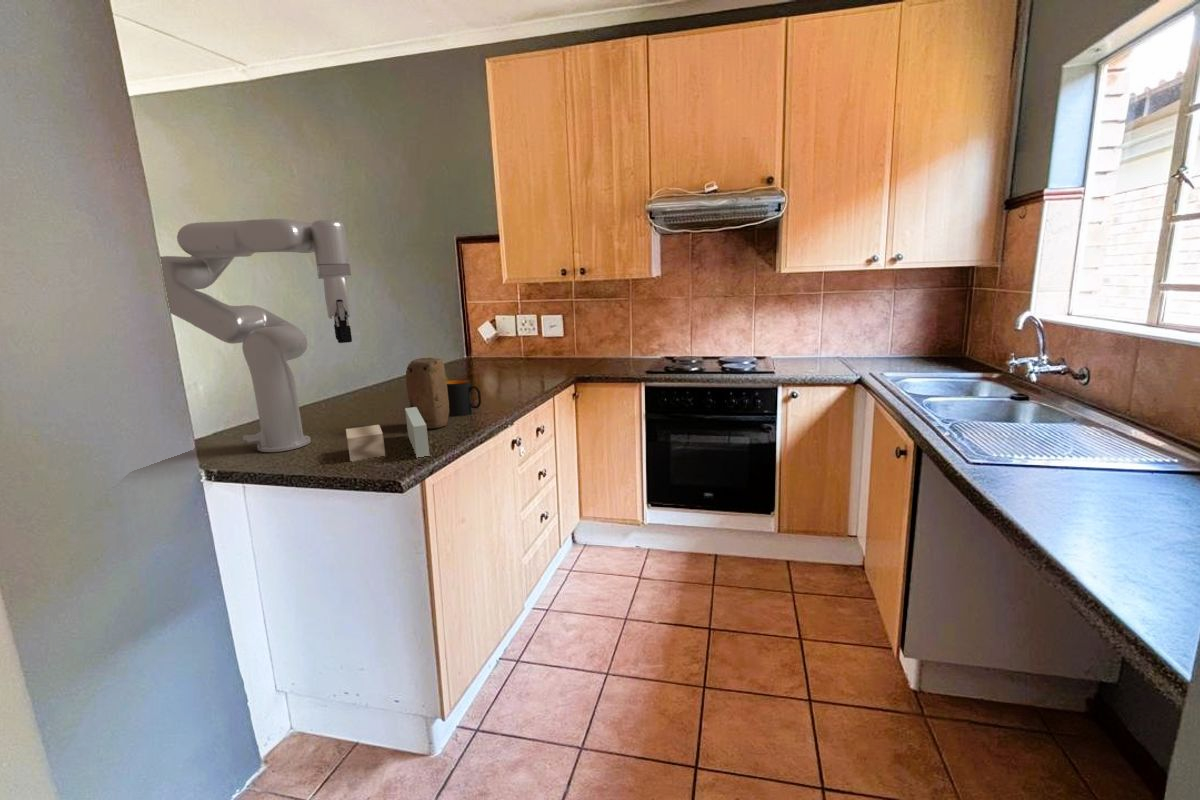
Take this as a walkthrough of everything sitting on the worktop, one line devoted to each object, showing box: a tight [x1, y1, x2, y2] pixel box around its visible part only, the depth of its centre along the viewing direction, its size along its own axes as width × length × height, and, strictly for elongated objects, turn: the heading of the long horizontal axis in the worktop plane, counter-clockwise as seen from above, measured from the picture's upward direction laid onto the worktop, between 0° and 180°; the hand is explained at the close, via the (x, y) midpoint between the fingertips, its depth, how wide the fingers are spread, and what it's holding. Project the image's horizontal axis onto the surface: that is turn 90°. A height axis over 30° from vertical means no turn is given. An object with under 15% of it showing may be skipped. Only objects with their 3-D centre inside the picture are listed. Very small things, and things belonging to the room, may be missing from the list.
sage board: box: [404, 407, 431, 459], centre depth 146 cm, size 3×22×8 cm, turn 24°
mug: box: [447, 378, 482, 417], centre depth 179 cm, size 8×12×10 cm
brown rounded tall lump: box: [405, 357, 450, 430], centre depth 164 cm, size 11×8×20 cm
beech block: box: [345, 424, 386, 462], centre depth 141 cm, size 8×10×6 cm
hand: (343, 340), depth 144 cm, fingers open, 9 cm apart
